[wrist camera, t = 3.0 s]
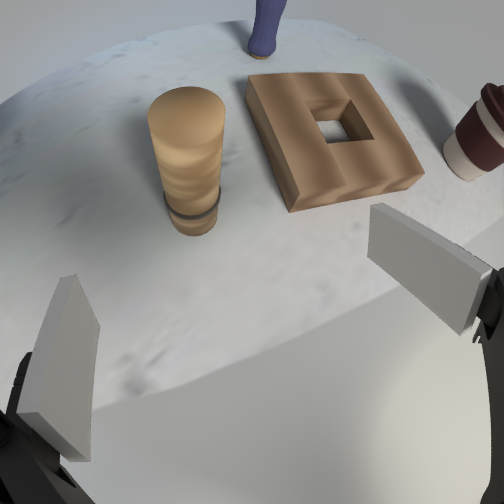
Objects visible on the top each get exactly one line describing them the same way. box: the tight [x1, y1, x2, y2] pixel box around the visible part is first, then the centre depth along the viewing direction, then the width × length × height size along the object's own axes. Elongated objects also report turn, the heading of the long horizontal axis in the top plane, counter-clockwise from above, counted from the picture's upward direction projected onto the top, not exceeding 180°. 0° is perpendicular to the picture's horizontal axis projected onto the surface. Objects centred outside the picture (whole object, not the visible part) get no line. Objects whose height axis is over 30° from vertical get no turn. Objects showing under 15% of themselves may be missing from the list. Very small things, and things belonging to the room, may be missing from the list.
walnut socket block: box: [245, 73, 425, 213], centre depth 32 cm, size 16×16×4 cm
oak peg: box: [147, 87, 225, 236], centre depth 22 cm, size 5×5×14 cm
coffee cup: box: [443, 83, 504, 181], centre depth 30 cm, size 10×10×15 cm
